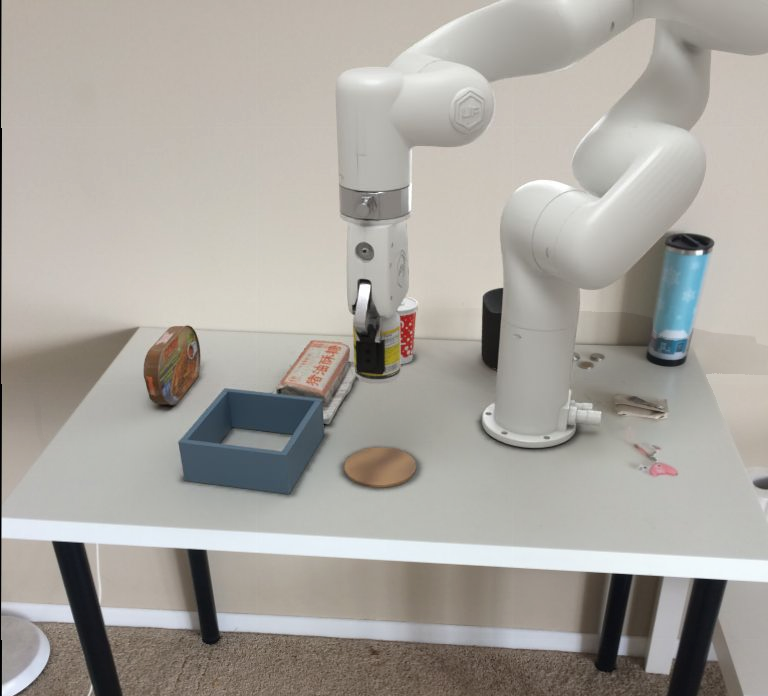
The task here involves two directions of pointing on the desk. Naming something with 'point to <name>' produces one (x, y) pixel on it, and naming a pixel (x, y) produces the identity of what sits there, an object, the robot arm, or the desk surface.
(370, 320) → the supplement bottle
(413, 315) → the beverage cup
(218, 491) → the desk surface
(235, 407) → the open box
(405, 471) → the coaster
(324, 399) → the packaged product
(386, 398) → the desk surface
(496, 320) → the pen holder
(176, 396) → the tin
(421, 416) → the desk surface
